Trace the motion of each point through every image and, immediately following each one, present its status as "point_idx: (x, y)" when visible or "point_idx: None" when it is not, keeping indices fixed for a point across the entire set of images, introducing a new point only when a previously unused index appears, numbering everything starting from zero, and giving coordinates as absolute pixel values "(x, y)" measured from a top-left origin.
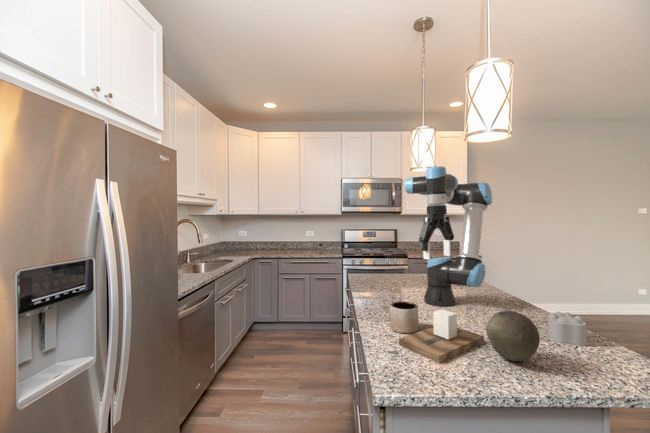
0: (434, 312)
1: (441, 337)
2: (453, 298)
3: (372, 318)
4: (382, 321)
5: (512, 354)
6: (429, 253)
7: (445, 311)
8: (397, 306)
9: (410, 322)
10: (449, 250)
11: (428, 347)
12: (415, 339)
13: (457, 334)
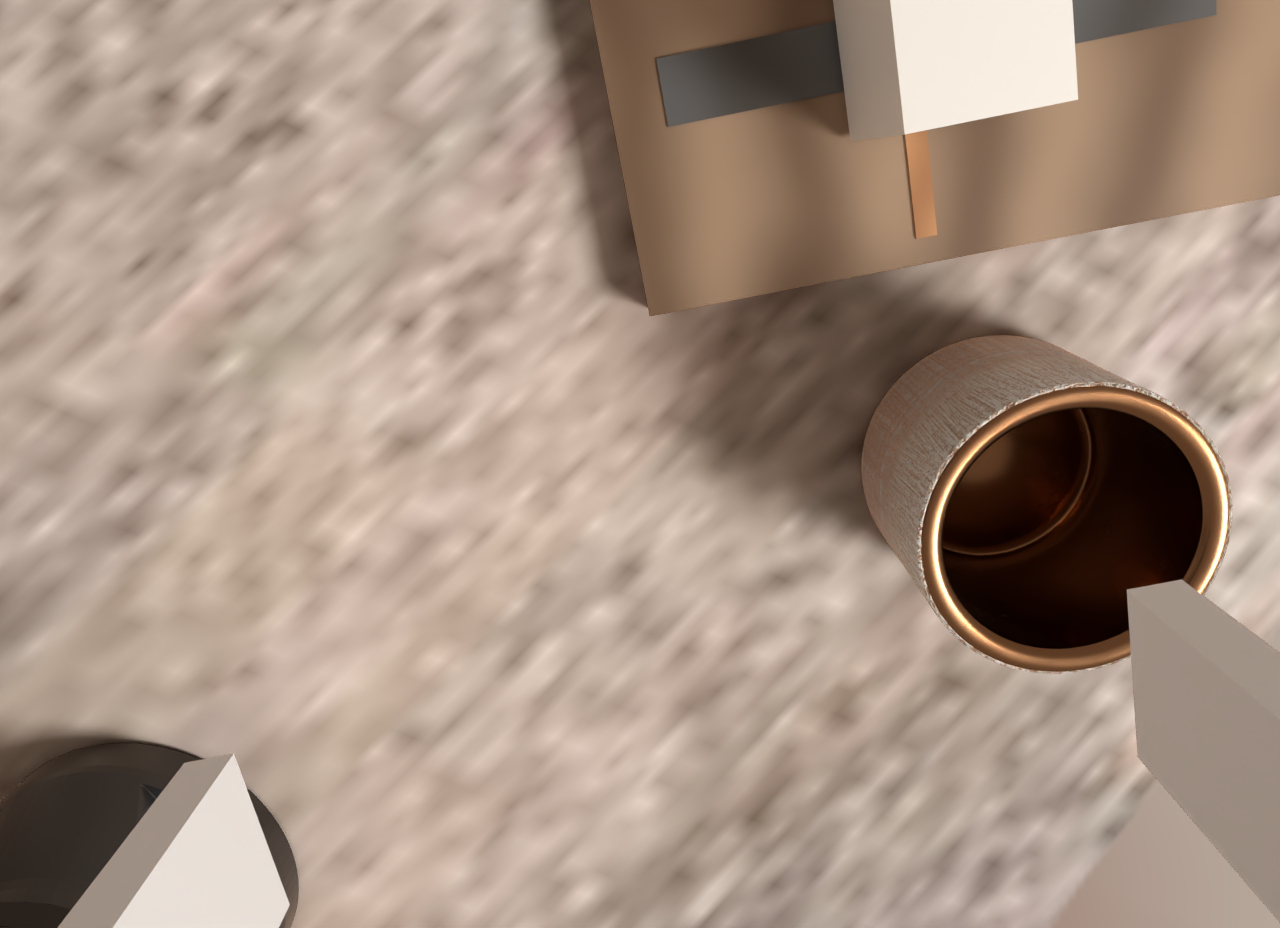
0: (1076, 80)
1: None
2: (29, 800)
3: (1051, 772)
4: (1024, 679)
5: None
6: (1270, 664)
7: (938, 38)
8: (1038, 629)
9: (1066, 356)
10: (159, 862)
11: None
12: (1214, 103)
13: (766, 20)
